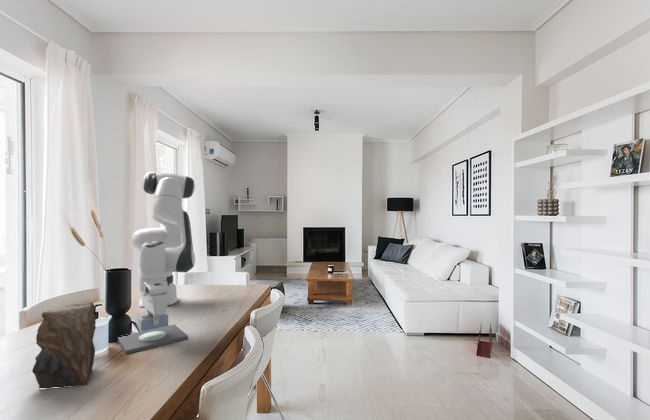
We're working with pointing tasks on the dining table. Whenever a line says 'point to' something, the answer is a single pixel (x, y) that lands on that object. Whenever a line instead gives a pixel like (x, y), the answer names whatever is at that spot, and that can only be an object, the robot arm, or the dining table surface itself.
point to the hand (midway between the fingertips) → (153, 322)
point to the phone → (146, 322)
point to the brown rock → (65, 346)
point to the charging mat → (151, 338)
